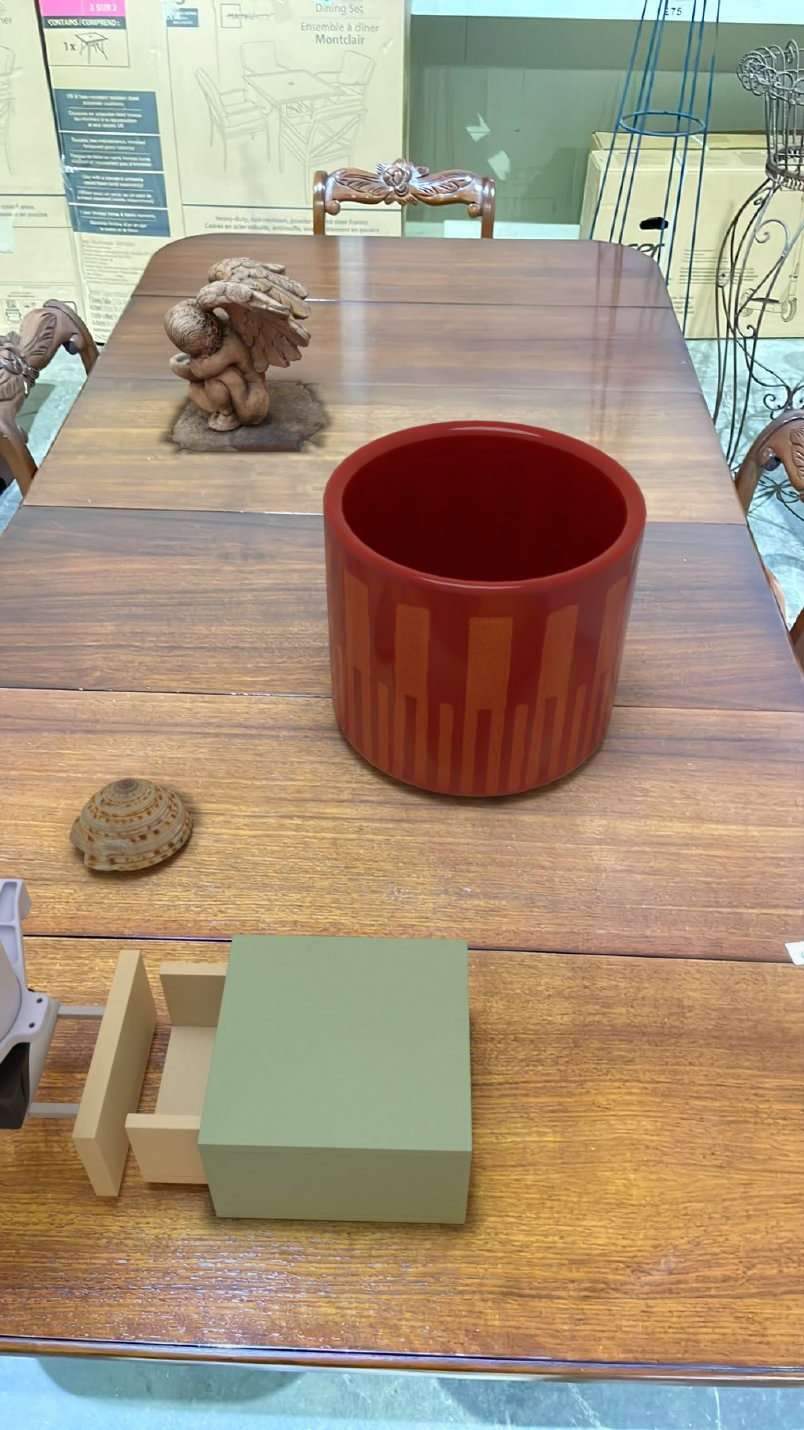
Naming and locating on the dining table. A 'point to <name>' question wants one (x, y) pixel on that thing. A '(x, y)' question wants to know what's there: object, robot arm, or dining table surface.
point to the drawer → (140, 1074)
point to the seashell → (130, 826)
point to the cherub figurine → (242, 361)
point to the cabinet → (341, 1081)
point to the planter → (478, 602)
